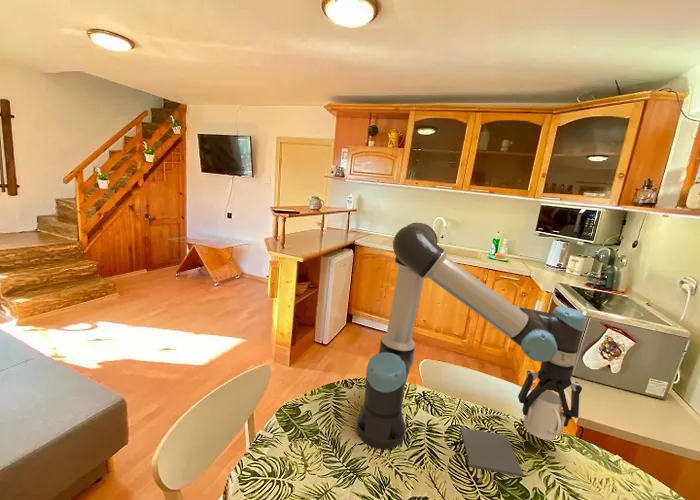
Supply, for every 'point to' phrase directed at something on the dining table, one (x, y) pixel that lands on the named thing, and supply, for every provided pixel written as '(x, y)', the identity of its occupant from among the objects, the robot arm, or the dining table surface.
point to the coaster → (490, 452)
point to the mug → (545, 416)
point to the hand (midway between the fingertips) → (541, 428)
